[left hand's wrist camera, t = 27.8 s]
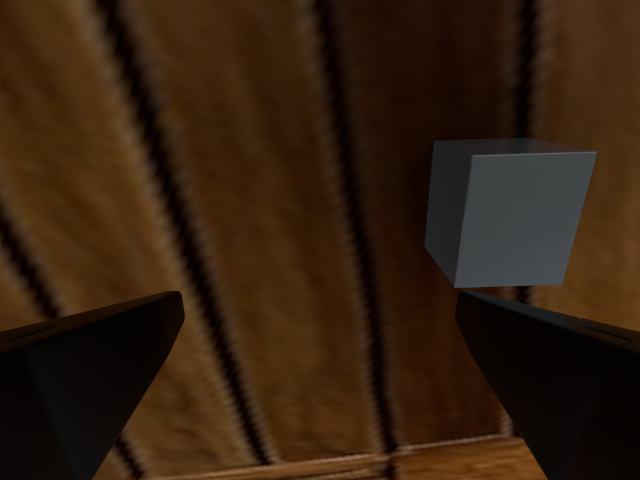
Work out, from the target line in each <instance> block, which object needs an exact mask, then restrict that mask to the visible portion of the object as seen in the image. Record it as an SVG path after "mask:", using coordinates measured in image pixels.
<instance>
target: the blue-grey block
mask: <svg viewBox="0 0 640 480" xmlns="http://www.w3.org/2000/svg"><path fill="white" fill-rule="evenodd" d="M596 156H597V151H593V150H588V149H583V148H578V147H573V146H568V145H563V144H558V143H553V142H548V141H543V140H538V139H533V138H502V139H471V140H439V141H434V146H433V157H432V168H431V179H430V190H429V201H428V212H427V222H426V233H425V244H424V246H425V248H426V249H427V250H428V252H429V253H430V255H431V256H432V257H433V259H434V260H435V262H436V263H437V264H438V266H439V267H440V269H441V270H442V271H443V273H444V274H445V275H446V277H447V278H448V280H449V281H450V282H451V284H452V285H453V287H454V288H465V287H496V286H528V285H560V284H562V283H563V279H564V276H565V272H566V268H567V264H568V261H569V257H570V253H571V249H572V246H573V242H574V238H575V235H576V231H577V227H578V223H579V220H580V216H581V212H582V208H583V205H584V201H585V197H586V193H587V190H588V186H589V182H590V179H591V175H592V171H593V167H594V164H595V160H596Z"/></svg>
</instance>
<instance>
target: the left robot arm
mask: <svg viewBox="0 0 640 480" xmlns="http://www.w3.org/2000/svg"><path fill="white" fill-rule="evenodd" d="M184 318H185V312H184V306H183V300H182V295H181V293H180V292H179V291H166V292H162V293H158V294H154V295H150V296H146V297H142V298H138V299H134V300H130V301H126V302H122V303H118V304H114V305H110V306H106V307H102V308H98V309H94V310H90V311H86V312H82V313H78V314H74V315H70V316H66V317H62V318H60V319H59V318H57V319H52V320H48V321H44V322H40V323H36V324H32V325H28V326H24V327H19V328H15V329H11V330H6V331H2V332H0V480H92V479H93V477H94V476H95V474H96V472H97V471H98V469H99V467H100V466H101V464H102V463H103V461H104V459H105V458H106V456H107V454H108V453H109V451H110V450H111V448H112V446H113V445H114V443H115V441H116V440H117V438H118V437H119V435H120V433H121V432H122V430H123V428H124V427H125V425H126V424H127V422H128V420H129V419H130V417H131V415H132V414H133V412H134V411H135V409H136V407H137V406H138V404H139V402H140V401H141V399H142V397H143V396H144V394H145V393H146V391H147V389H148V388H149V386H150V384H151V383H152V381H153V380H154V378H155V376H156V375H157V373H158V371H159V370H160V368H161V367H162V365H163V363H164V362H165V360H166V358H167V357H168V355H169V353H170V351H171V349H172V347H173V344H174V342H175V340H176V338H177V336H178V333H179V331H180V329H181V327H182V324H183V322H184ZM455 318H456V322H457V324H458V327H459V329H460V331H461V333H462V336H463V338H464V340H465V342H466V344H467V347H468V349H469V351H470V353H471V355H472V357H473V358H474V360H475V362H476V363H477V365H478V367H479V368H480V370H481V371H482V373H483V375H484V376H485V378H486V380H487V381H488V383H489V384H490V386H491V388H492V389H493V391H494V393H495V394H496V396H497V397H498V399H499V401H500V402H501V404H502V406H503V407H504V409H505V410H506V412H507V414H508V415H509V417H510V419H511V420H512V422H513V423H514V425H515V427H516V428H517V430H518V432H519V433H520V435H521V437H522V438H523V440H524V441H525V443H526V445H527V446H528V448H529V450H530V451H531V453H532V454H533V456H534V458H535V459H536V461H537V463H538V464H539V466H540V467H541V469H542V471H543V472H544V474H545V476H546V477H547V479H548V480H640V332H638V331H634V330H629V329H625V328H621V327H616V326H612V325H608V324H604V323H600V322H596V321H592V320H588V319H584V318H581V319H580V318H578V317H574V316H570V315H566V314H562V313H558V312H554V311H550V310H546V309H542V308H538V307H534V306H530V305H526V304H522V303H518V302H514V301H510V300H506V299H502V298H498V297H494V296H490V295H486V294H482V293H478V292H474V291H461V292H460V293H459V295H458V300H457V306H456V312H455Z"/></svg>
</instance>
